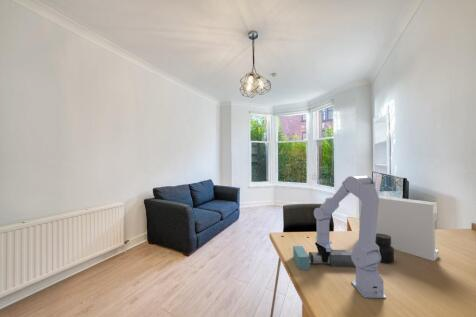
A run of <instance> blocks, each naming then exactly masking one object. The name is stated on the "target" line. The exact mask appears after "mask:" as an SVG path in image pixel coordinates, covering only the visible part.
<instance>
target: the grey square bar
mask: <svg viewBox="0 0 476 317" xmlns="http://www.w3.org/2000/svg"><path fill="white" fill-rule="evenodd" d="M308 256H309V262H310V264H324V263H323V261H322V256H321V252H318V251H317V252H315V251H313V252H311V251H309V252H308ZM329 263H330V255H329V259H328V262H327V263H326V264H329Z"/></svg>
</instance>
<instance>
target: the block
mask: <svg viewBox="0 0 476 317" xmlns="http://www.w3.org/2000/svg"><path fill="white" fill-rule="evenodd" d="M378 197H379V207H378V218H377V229H376V234H385V235H388V236H390V237H391V246H392V247H393V248H394V250H396V251H399V252H403V253H407V254H410V255H413V256H416V257H419V258H423V259H425V260H428V261H433V262H435V261H436V260H437V259H438V258H439V252H440V251H439V249H436V224H435V223H436V221H438V219H439V218H438V216H439V214H438V202H435V201H434V202H433V201H432V202H431V201H425V200H419V199H408V198H401V197H391V196H384V195H378ZM361 205H362V201H361V200H360V199H359V198H358V212H359V213H358V215H359V216H358V218H359V219H358V220H359V225H358V227H359V228H358V230H359V229H360V217H361Z"/></svg>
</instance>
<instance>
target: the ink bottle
mask: <svg viewBox="0 0 476 317" xmlns="http://www.w3.org/2000/svg"><path fill="white" fill-rule="evenodd" d="M375 244H377V245H378V246H379V252H380V255H381V261H380V262H379V263H382V264H393V263H394V264H395V249H394V248H393V247H392V246H391V237H390V236H388V235H385V234H376V240H375Z"/></svg>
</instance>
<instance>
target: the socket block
mask: <svg viewBox="0 0 476 317" xmlns="http://www.w3.org/2000/svg"><path fill="white" fill-rule="evenodd" d="M292 254H293V255H292V256H293V257H292V258H293V259H294V262H295V264H296V266H297V268H298V269H299V271H300V270H302V271H303V270H310V264H311V262H310V260H309V253H308V252H307V251H306V250H305V247H304V246H303V245H293V246H292ZM310 271H311V270H310Z"/></svg>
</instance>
